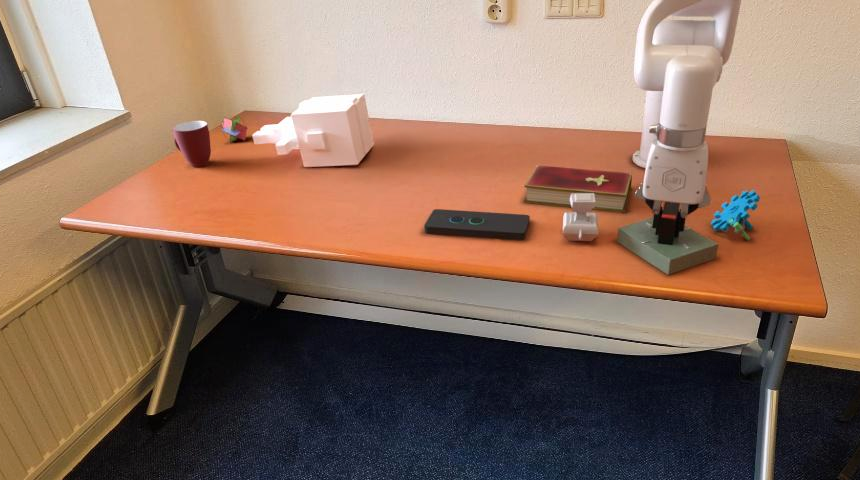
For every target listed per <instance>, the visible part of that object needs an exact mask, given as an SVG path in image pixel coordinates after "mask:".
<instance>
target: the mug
mask: <svg viewBox="0 0 860 480" xmlns="http://www.w3.org/2000/svg"><path fill="white" fill-rule="evenodd" d="M172 131H173V135H174V137H173V141H174V145H175V147H176V149H177V150H178V151H179V152H181V154H182V155H183V157H184V159H185V160H186V161H187V162H188V164H189V165H191V167H194V168H200V167H201V168H202V167H205V166H207V165H208V164H209V162H210V158H211V153H212V151H211V149H212V148H211V136H210V130H209V126H208V123H207V122H206V121H204V120H189V121H183V122H180V123H177V124H176V125H174V126H173V127H172Z"/></svg>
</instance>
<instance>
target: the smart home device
mask: <svg viewBox="0 0 860 480" xmlns="http://www.w3.org/2000/svg"><path fill="white" fill-rule="evenodd" d="M530 223H531V216H530V215H529V214H519V213H506V212H505V213H504V212H491V211H475V210H473V211H472V210H458V209H457V210H456V209H445V208H444V209H443V208H442V209H441V208H435V209H433V210H432V211H431V213H430V215H429V216H428V218H427V220H426V221H425V223H424V225H423V226H424V227H423V228H424V233H425V234H430V235H441V236H442V235H444V236H456V237H469V238H470V237H471V238H484V239H497V240H510V241H512V240H513V241H524V240H525V239H526V236H527V233H528V230H529V226H530Z"/></svg>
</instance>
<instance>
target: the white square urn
mask: <svg viewBox="0 0 860 480" xmlns="http://www.w3.org/2000/svg"><path fill="white" fill-rule="evenodd" d="M570 203H571V206H572V207H571V211H572V212H571V211H570V212H569V211H566V212H564V214H563V217H562V235H563V236H564V237H565V238H566V239H567V241H572V242H573V241H574V242H575V241H576V242H577V241H578V242H592V241H593V240H594V239H595V238H596V237H598V236H599V220H598V214H597V213H596V212H592V210H593V209H592V208H594V207H595V196H594V193H571V196H570Z"/></svg>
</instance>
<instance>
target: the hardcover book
mask: <svg viewBox="0 0 860 480" xmlns="http://www.w3.org/2000/svg"><path fill="white" fill-rule="evenodd" d="M632 178H633V173H632V172H622V171H611V170H600V169H599V170H598V169H588V168H576V167H575V168H573V167H563V166H550V165H538V164H536V166H535V167H534V169H533V170H532V172H531V173H530V175H529V177H528V179H527V180H526V182H525V184H524V188H526V197H525V199H524V201H523V203H525V204H533V205H534V204H535V205H543V206H552V207H553V206H554V207H565V208H572V206H571V203H570V196H571V193H594V196H595V207H594V208H592V210H593V211H594V210H595V211H603V212H604V211H605V212H614V213H626V209H627V204H628V200H629V198H630V194H631V189H632V181H633V180H632Z"/></svg>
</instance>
